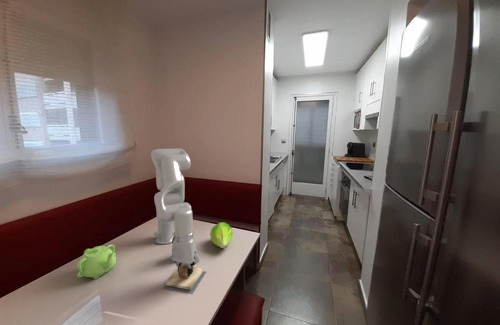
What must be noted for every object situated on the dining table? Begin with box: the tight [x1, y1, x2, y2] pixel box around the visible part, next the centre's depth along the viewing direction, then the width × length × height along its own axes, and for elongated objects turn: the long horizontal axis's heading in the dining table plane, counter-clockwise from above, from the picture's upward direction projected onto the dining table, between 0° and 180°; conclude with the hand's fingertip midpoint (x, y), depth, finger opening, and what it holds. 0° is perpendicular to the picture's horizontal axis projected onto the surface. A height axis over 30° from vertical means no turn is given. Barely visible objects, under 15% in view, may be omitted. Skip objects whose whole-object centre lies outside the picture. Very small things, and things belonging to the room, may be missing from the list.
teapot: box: [76, 244, 117, 280], centre depth 95 cm, size 16×14×13 cm
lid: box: [165, 263, 204, 290], centre depth 90 cm, size 12×12×6 cm
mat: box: [162, 270, 207, 295], centre depth 90 cm, size 14×14×1 cm
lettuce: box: [209, 221, 234, 249], centre depth 118 cm, size 14×20×12 cm
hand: (185, 273), depth 90 cm, fingers closed on lid, 4 cm apart
